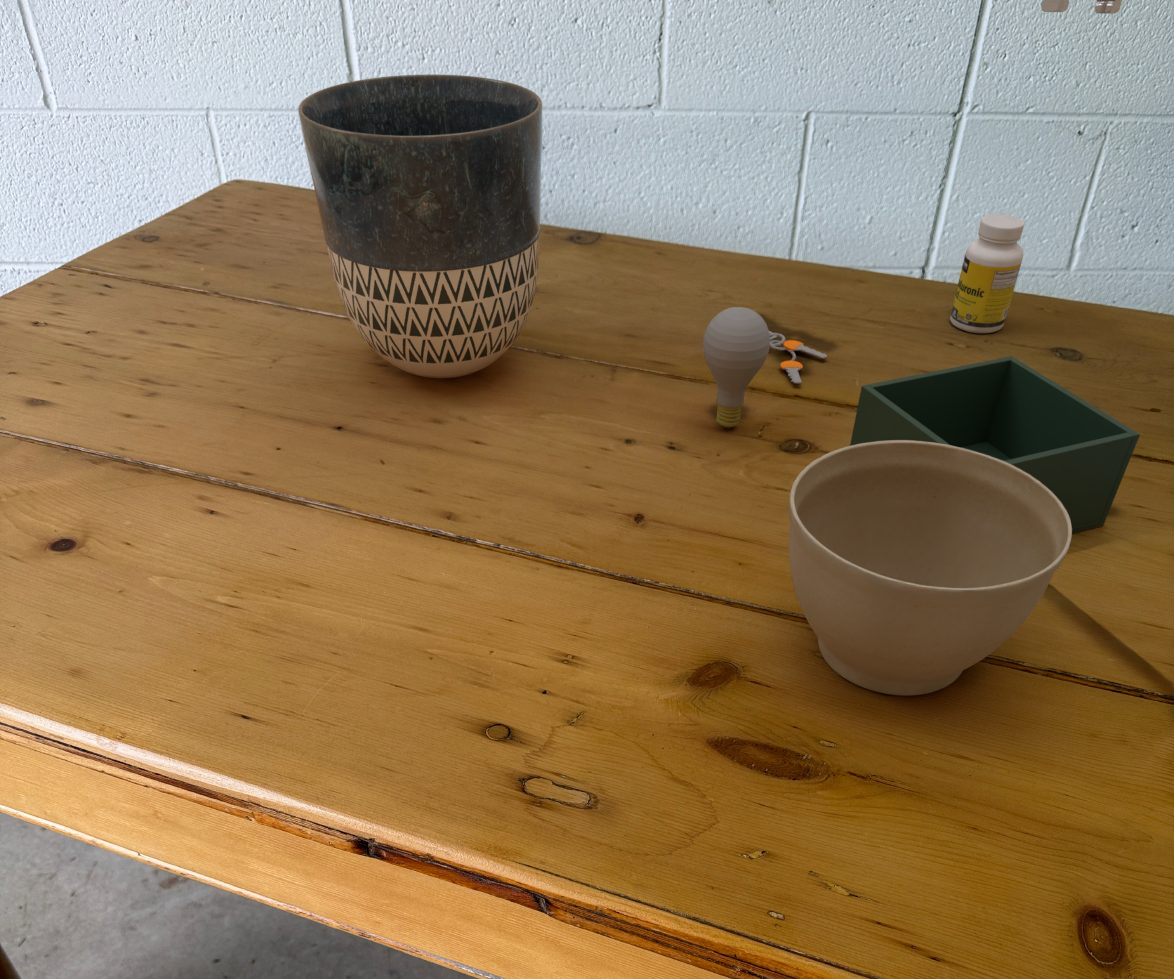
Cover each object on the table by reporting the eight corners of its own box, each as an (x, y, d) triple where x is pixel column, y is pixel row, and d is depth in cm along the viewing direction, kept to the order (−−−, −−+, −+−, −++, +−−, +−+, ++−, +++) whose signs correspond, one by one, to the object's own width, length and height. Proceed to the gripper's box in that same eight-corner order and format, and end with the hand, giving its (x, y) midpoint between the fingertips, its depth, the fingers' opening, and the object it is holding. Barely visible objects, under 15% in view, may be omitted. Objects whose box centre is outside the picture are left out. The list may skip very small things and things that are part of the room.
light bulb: (763, 416, 93) (778, 300, 86) (753, 445, 89) (768, 326, 82) (702, 408, 94) (712, 292, 87) (690, 437, 90) (700, 318, 83)
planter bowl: (717, 651, 69) (734, 504, 62) (860, 556, 77) (891, 415, 70) (927, 775, 61) (977, 624, 54) (1062, 654, 69) (1123, 507, 62)
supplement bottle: (938, 317, 108) (963, 213, 101) (984, 311, 110) (1011, 208, 103) (967, 337, 105) (994, 232, 98) (1014, 331, 106) (1044, 226, 99)
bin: (986, 442, 90) (1011, 355, 84) (1103, 526, 80) (1140, 434, 75) (843, 474, 86) (861, 385, 80) (950, 565, 76) (977, 471, 71)
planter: (303, 393, 95) (250, 122, 80) (398, 313, 108) (367, 66, 93) (502, 427, 91) (486, 147, 76) (576, 339, 104) (575, 85, 89)
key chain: (702, 341, 103) (703, 332, 103) (757, 324, 107) (758, 315, 106) (793, 388, 96) (794, 379, 96) (849, 368, 99) (851, 359, 99)
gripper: (1102, -214, 80) (1053, 11, 88) (1219, -184, 91) (1165, 14, 99) (1027, -204, 84) (986, 11, 92) (1147, -176, 95) (1102, 14, 103)
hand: (1080, 13), depth 96 cm, fingers open, 8 cm apart
